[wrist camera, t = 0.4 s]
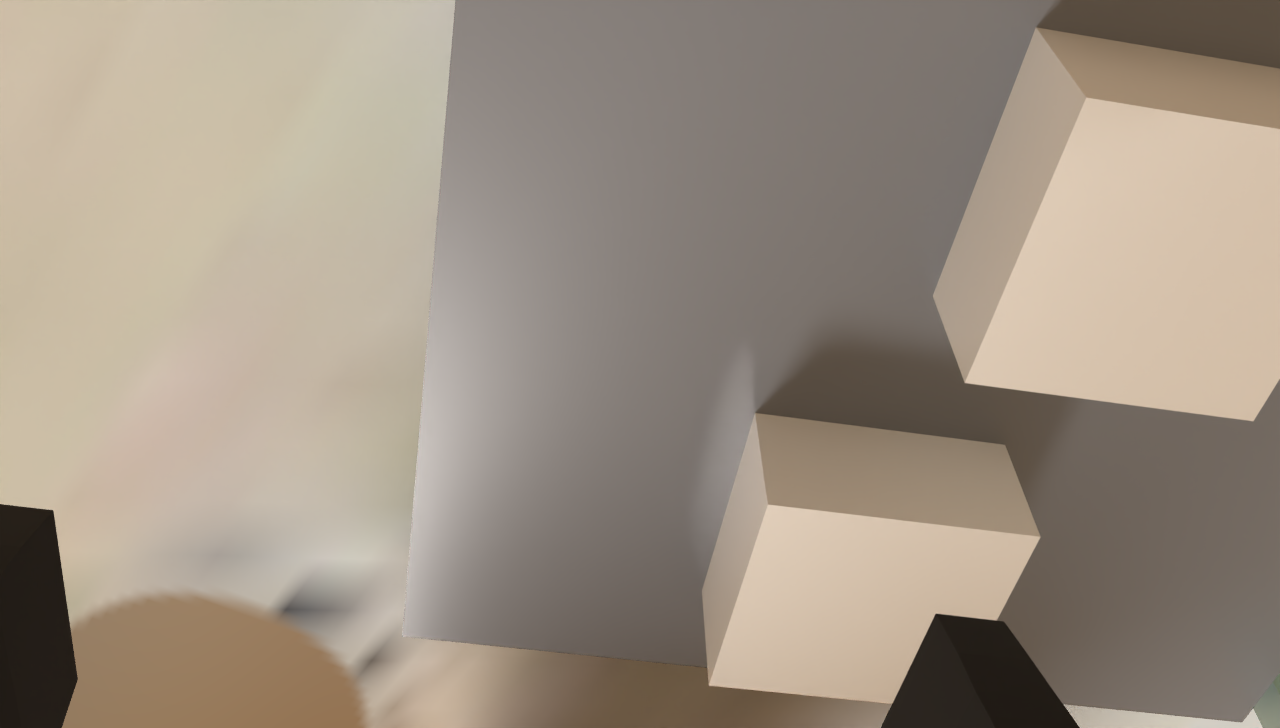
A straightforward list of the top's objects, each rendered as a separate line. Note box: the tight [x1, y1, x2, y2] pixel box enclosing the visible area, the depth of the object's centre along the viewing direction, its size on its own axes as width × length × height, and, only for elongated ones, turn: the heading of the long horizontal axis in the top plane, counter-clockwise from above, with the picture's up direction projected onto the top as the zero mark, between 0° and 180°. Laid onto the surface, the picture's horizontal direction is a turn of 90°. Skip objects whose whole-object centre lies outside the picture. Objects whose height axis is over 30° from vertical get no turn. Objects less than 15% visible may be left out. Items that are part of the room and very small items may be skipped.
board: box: [402, 0, 1280, 722], centre depth 19 cm, size 14×16×2 cm
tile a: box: [702, 413, 1040, 704], centre depth 19 cm, size 4×4×2 cm
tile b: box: [933, 27, 1280, 421], centre depth 15 cm, size 4×4×2 cm
